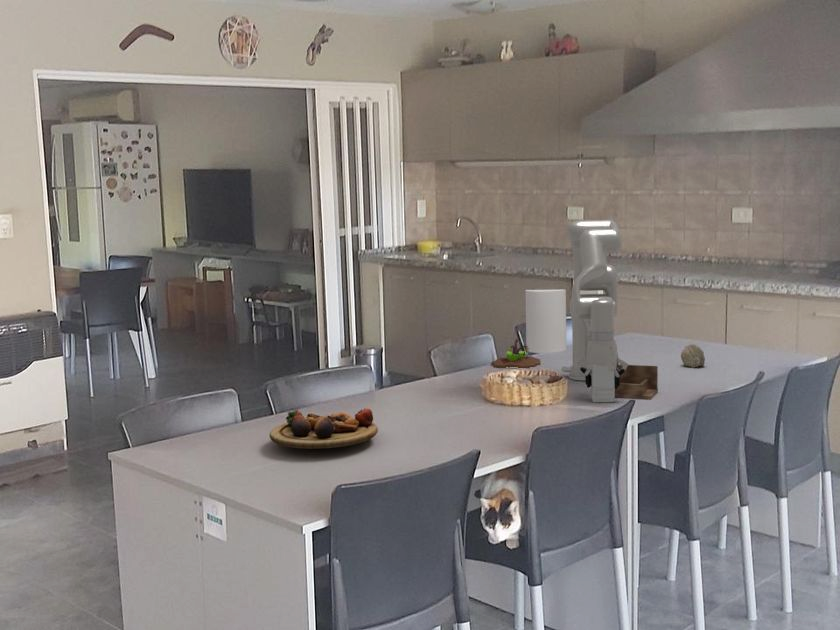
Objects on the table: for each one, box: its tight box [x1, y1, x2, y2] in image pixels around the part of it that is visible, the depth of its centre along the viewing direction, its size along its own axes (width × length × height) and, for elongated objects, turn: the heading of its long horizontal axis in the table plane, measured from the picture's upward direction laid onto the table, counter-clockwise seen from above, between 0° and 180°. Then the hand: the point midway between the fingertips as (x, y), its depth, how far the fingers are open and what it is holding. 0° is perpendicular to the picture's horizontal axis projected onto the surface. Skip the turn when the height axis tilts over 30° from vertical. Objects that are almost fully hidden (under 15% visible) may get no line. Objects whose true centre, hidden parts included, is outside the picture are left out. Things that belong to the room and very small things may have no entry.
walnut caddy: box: [614, 363, 659, 400], centre depth 337 cm, size 18×13×9 cm
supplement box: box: [590, 365, 616, 403], centre depth 328 cm, size 7×7×13 cm
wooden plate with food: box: [269, 408, 379, 450], centre depth 292 cm, size 32×32×8 cm
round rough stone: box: [680, 343, 706, 369], centre depth 380 cm, size 9×8×10 cm
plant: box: [490, 338, 541, 369], centre depth 399 cm, size 20×20×11 cm
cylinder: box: [525, 289, 567, 354], centre depth 426 cm, size 17×17×28 cm
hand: (602, 387), depth 328 cm, fingers closed on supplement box, 8 cm apart
